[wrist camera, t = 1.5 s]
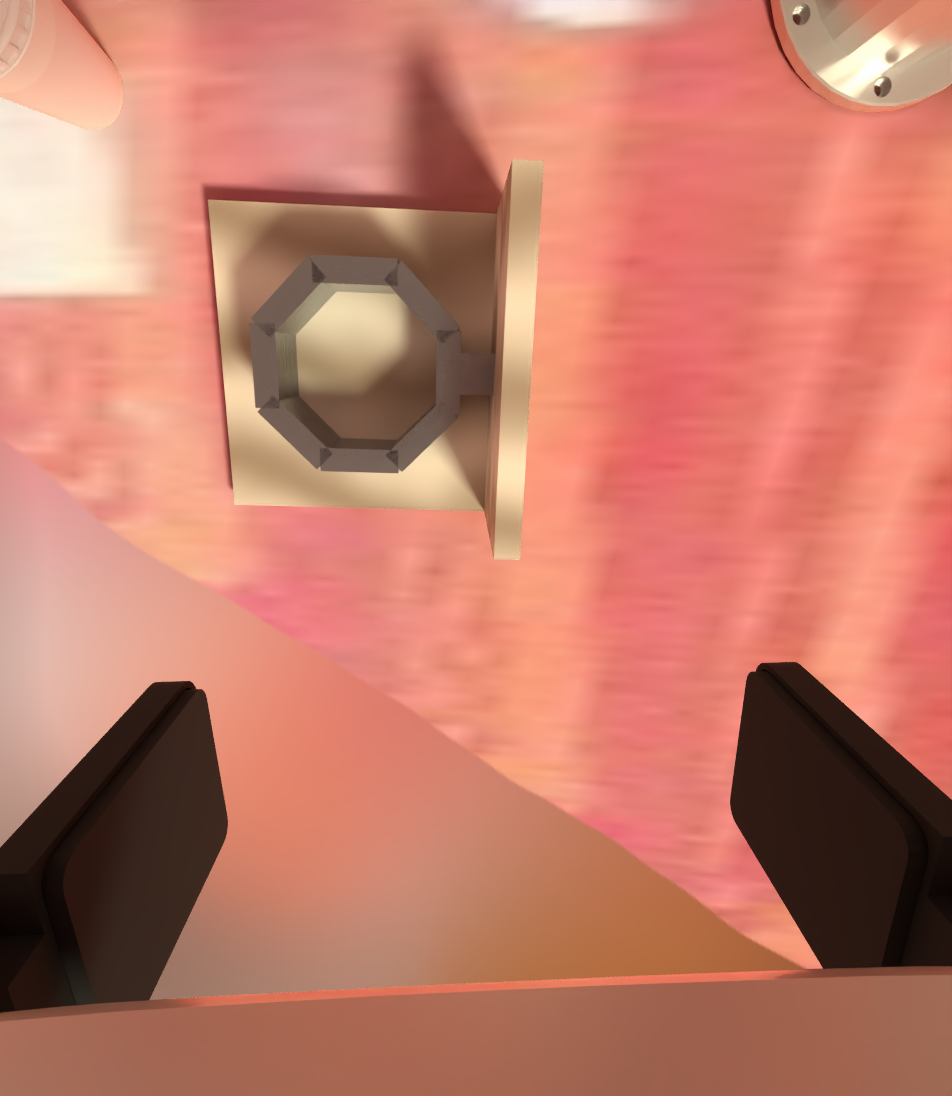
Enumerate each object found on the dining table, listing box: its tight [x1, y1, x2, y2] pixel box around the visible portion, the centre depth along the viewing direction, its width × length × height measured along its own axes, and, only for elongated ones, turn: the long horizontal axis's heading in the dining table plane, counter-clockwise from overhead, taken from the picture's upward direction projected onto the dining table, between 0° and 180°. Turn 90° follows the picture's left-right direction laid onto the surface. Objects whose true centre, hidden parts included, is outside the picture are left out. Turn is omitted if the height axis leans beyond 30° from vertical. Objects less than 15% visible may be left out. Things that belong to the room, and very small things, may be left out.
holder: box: [208, 159, 544, 560], centre depth 30 cm, size 16×16×10 cm
